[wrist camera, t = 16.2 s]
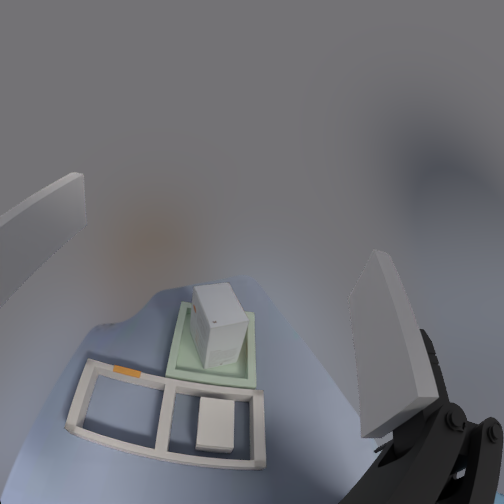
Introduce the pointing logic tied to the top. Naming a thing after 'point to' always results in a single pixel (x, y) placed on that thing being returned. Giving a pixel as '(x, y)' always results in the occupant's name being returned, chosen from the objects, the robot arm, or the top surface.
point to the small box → (217, 324)
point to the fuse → (215, 425)
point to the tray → (231, 375)
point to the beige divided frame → (168, 416)
